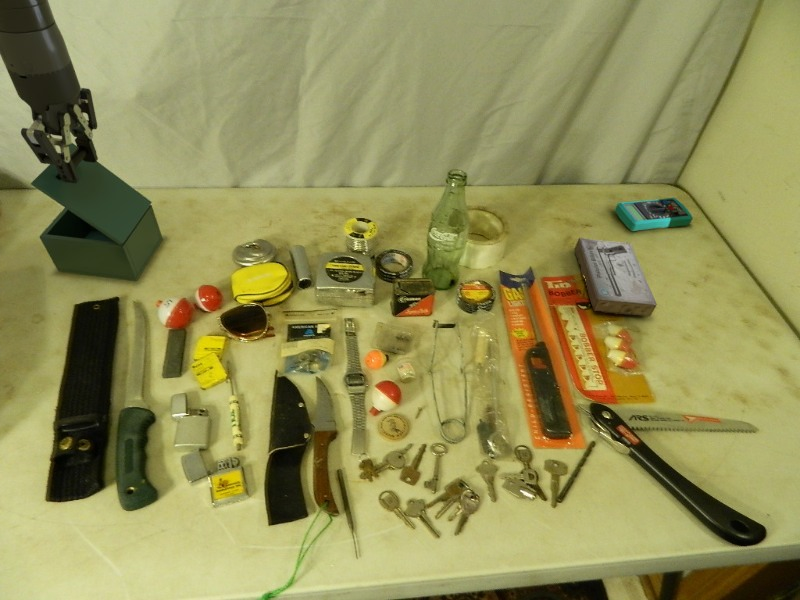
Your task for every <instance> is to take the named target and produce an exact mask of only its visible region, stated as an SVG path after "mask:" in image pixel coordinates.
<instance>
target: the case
mask: <svg viewBox="0 0 800 600" xmlns="http://www.w3.org/2000/svg"><path fill="white" fill-rule="evenodd" d="M38 238H39V240H40V241H41V243H42V245H43V246H44V248H45V250H46V252H47V254H48V256H49V257H50V259H51V261H52V263H53V265H54V266H55V268H56V270H57V272H59V273H66V274H74V275H83V276H89V277H90V276H91V277H99V278H109V279H116V280H125V281H133V282H138V280H139V279H140V277H141V275H142V274H143V272H144V270H145V269H146V267H147V266H148V264H149V263H150V261H151V260H152V258H153V256H154V255H155V253H156V251H157V250H158V248H159V247H160V245H161V244H162V242H163V241H164V237H163V235H162V232H161V228H160V226H159V222H158V220H157V216H156V214H155V211H154V208H153V205H152V204H151V205H150V206H149V207H148V209H147V210H146V212H145V213H144V215H143V216H142V217H141V219H140V220H139V222H138V223H137V224H136V226H135V227H134V229H133V230H132V232H131V233H130V234H129V236H128V237H127V239H126V240H125V242H124V243H123V244H122V245H120V244H118V243H117V242H115V241H114V240H112V239H111V238H109V237H108V236H106V235H105V234H103V233H102V232H100V231H99V230H97V229H96V228H94V227H93V226H91V225H90V224H89V223H87V222H86V221H84V220H83V219H81V218H80V217H78V216H77V215H75V214H74V213H72V212H71V211H69V210H68V209H66V208H65V207H63V208H62V210H61V211H60V212H59V214H58V215H56V217H55V218H54V219H53V220H52V221H51V222H50V224H49V225H48V226H47V227H46V228H45V230H44V231H43V232H41V234H40V235H39V236H38Z"/></svg>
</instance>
